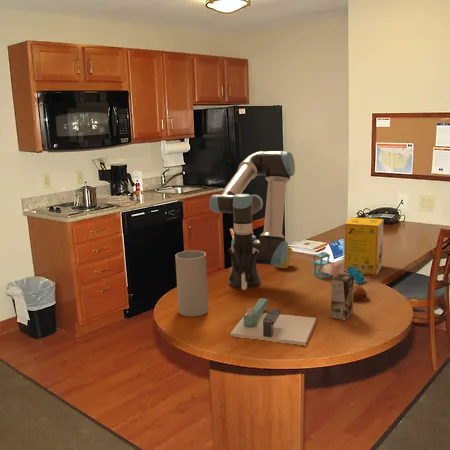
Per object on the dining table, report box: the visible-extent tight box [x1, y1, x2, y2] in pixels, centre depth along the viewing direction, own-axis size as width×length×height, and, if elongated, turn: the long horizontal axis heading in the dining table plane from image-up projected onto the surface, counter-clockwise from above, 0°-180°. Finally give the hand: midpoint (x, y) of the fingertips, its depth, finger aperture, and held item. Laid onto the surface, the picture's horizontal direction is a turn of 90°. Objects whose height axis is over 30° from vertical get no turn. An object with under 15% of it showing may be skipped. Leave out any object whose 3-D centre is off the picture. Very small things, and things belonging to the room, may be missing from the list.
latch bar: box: [243, 298, 268, 327], centre depth 203 cm, size 22×5×6 cm, turn 160°
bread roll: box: [353, 283, 369, 303], centre depth 223 cm, size 10×10×8 cm
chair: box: [311, 252, 333, 280], centre depth 254 cm, size 8×8×12 cm
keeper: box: [263, 308, 282, 337], centre depth 190 cm, size 4×12×6 cm, turn 161°
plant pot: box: [275, 246, 293, 269], centre depth 270 cm, size 10×10×10 cm
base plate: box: [230, 312, 317, 347], centre depth 195 cm, size 28×22×2 cm
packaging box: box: [343, 216, 384, 276], centre depth 261 cm, size 16×16×25 cm
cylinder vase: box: [174, 250, 209, 318], centre depth 212 cm, size 12×12×25 cm
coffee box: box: [330, 273, 355, 321], centre depth 204 cm, size 9×6×16 cm
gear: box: [346, 266, 366, 286], centre depth 243 cm, size 11×6×10 cm
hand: (244, 288), depth 210 cm, fingers closed
